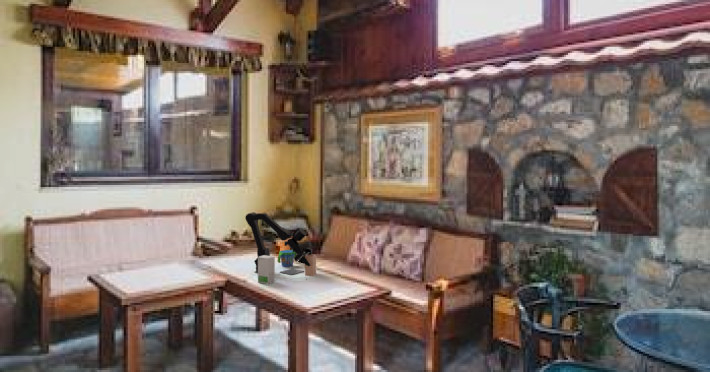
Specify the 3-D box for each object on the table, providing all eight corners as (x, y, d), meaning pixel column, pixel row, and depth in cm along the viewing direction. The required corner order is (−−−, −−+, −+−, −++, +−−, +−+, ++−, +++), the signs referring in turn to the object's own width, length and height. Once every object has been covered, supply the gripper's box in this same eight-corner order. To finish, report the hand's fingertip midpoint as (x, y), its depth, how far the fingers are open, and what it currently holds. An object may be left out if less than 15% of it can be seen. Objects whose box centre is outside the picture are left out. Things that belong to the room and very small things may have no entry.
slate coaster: (291, 275, 331) (291, 274, 331) (279, 272, 338) (279, 271, 338) (304, 271, 339) (304, 270, 339) (292, 269, 346) (292, 268, 346)
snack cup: (292, 262, 366) (291, 248, 365) (301, 265, 359) (301, 250, 358) (273, 266, 355) (273, 251, 355) (282, 269, 348) (282, 254, 347)
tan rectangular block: (305, 275, 330) (304, 256, 329) (308, 273, 335) (307, 254, 334) (313, 275, 329) (312, 256, 328) (316, 273, 334) (315, 255, 333)
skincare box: (257, 282, 314) (256, 256, 313) (264, 280, 320) (263, 254, 319) (269, 284, 310) (268, 258, 309) (275, 281, 316) (274, 255, 315)
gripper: (298, 240, 322) (315, 258, 320) (309, 235, 340) (325, 252, 338) (286, 252, 325) (303, 270, 323) (298, 246, 343) (314, 264, 341)
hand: (312, 264), depth 331 cm, fingers open, 9 cm apart
